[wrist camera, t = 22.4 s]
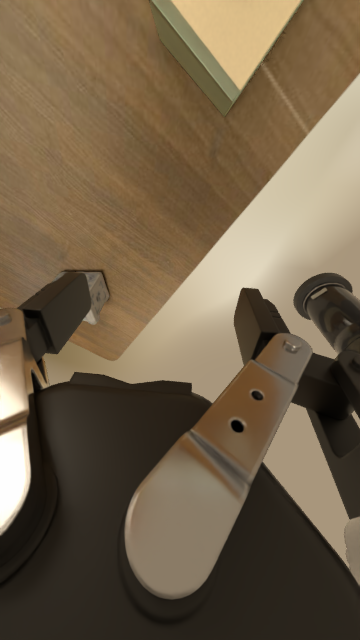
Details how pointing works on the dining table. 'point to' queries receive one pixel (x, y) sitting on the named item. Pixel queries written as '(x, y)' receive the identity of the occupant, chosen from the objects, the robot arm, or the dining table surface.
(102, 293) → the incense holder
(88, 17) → the dining table surface
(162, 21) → the shelf
